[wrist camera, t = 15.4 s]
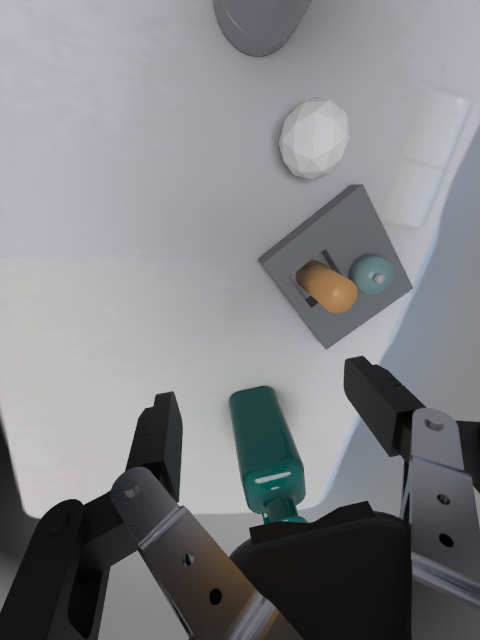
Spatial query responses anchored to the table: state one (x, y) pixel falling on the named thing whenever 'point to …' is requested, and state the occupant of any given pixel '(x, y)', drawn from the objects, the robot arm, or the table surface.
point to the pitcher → (267, 456)
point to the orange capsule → (327, 286)
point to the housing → (341, 263)
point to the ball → (314, 138)
